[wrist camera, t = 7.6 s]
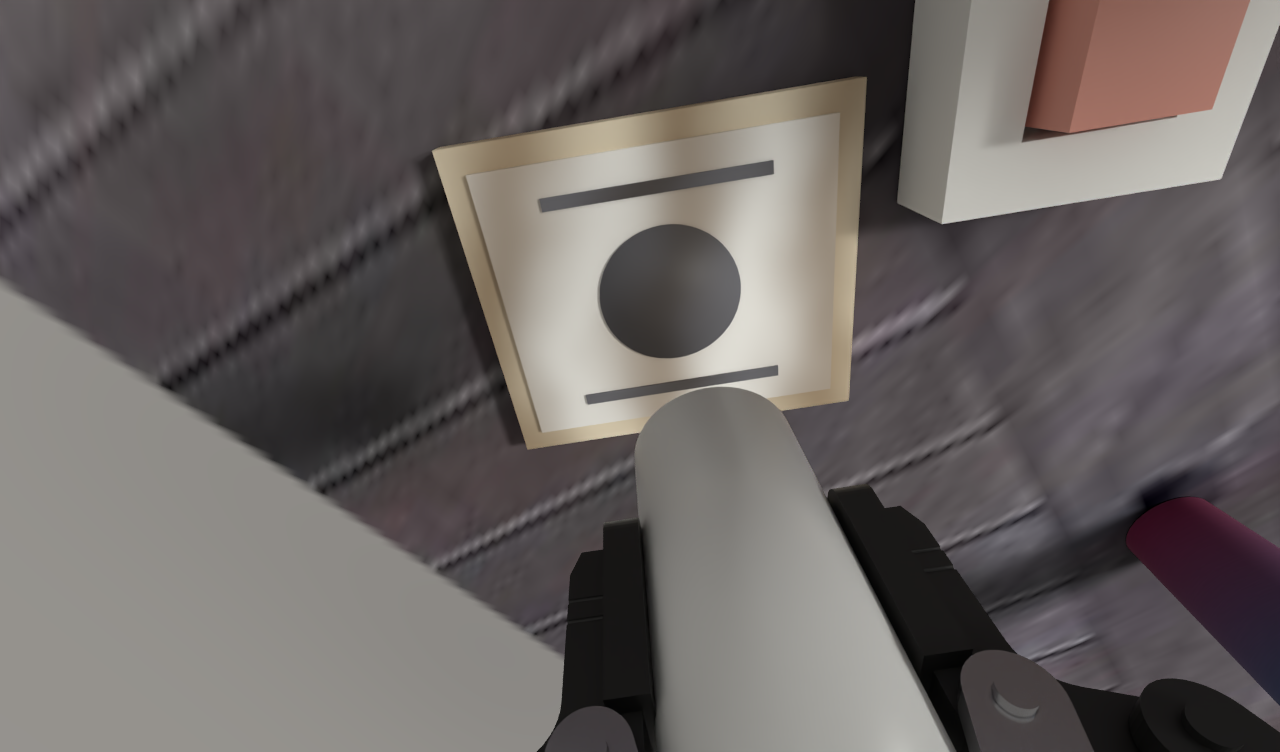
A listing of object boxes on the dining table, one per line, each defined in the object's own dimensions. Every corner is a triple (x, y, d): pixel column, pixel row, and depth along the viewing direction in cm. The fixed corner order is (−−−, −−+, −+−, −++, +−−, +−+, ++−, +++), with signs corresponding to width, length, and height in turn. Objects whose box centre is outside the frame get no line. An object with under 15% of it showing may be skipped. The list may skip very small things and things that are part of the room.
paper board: (855, 76, 20) (870, 77, 19) (840, 389, 27) (851, 403, 26) (439, 147, 21) (429, 151, 20) (530, 437, 28) (527, 453, 27)
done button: (1179, -52, 17) (1274, -70, 15) (1135, 103, 19) (1212, 109, 17) (1038, -27, 17) (1109, -42, 15) (1011, 124, 19) (1068, 133, 17)
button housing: (1236, -163, 17) (1368, -210, 14) (1138, 163, 22) (1221, 179, 19) (925, -107, 18) (990, -142, 15) (896, 202, 23) (941, 223, 20)
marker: (796, 370, 12) (1735, 1867, 2) (796, 503, 15) (1268, 1582, 4) (617, 398, 13) (674, 1956, 2) (642, 526, 15) (733, 1632, 4)
